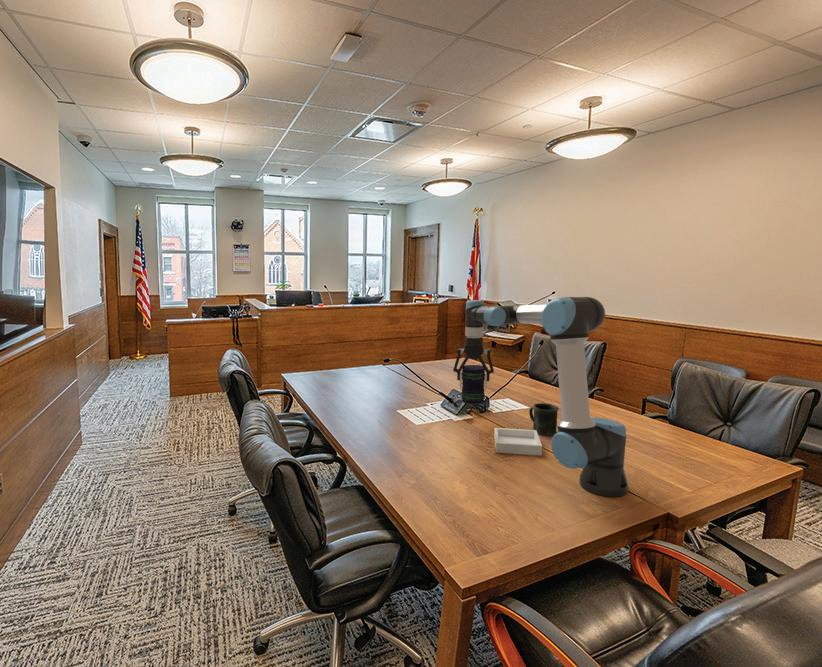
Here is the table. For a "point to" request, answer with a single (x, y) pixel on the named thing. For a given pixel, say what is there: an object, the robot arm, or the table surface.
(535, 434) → the tray
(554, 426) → the mug
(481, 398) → the dark blue canister
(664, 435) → the table surface
